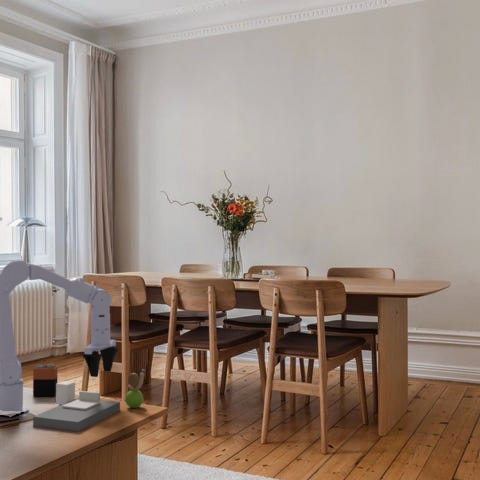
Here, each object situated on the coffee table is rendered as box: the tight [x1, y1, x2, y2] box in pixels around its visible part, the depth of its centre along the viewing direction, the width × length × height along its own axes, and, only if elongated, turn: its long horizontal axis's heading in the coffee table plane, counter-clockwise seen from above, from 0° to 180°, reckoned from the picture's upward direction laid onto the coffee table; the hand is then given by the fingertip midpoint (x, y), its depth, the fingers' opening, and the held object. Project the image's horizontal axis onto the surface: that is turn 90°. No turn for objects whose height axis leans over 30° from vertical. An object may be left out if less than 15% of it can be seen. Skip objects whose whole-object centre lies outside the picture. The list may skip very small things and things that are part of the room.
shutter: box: [62, 390, 101, 410], centre depth 182 cm, size 8×9×3 cm
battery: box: [32, 363, 58, 398], centre depth 204 cm, size 4×7×10 cm, turn 93°
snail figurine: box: [124, 368, 146, 409], centre depth 190 cm, size 5×6×12 cm
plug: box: [55, 380, 76, 406], centre depth 192 cm, size 4×4×7 cm
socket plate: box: [32, 397, 121, 432], centre depth 179 cm, size 14×22×2 cm, turn 161°
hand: (100, 373), depth 192 cm, fingers open, 7 cm apart
